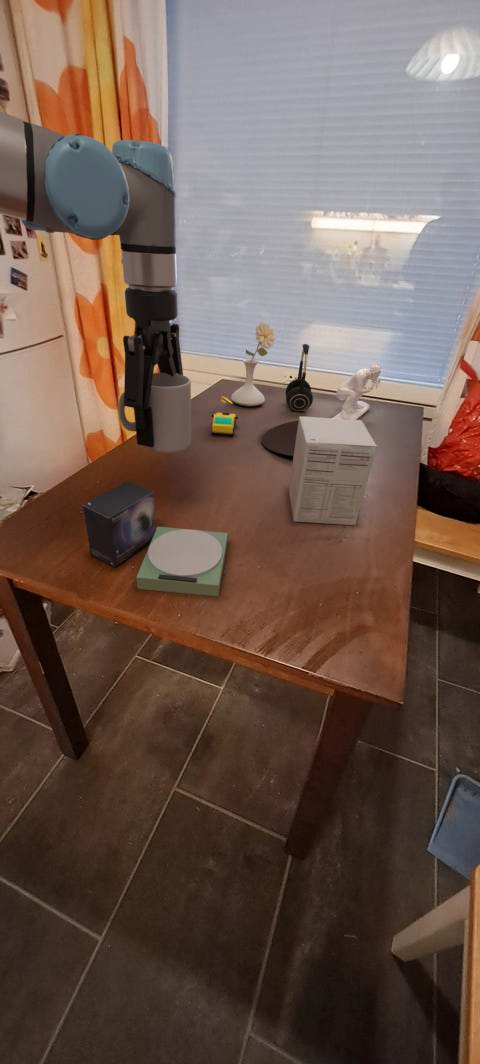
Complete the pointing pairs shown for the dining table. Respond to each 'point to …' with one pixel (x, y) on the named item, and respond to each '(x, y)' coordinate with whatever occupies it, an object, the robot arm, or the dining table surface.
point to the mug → (167, 412)
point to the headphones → (300, 388)
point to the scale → (184, 562)
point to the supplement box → (330, 470)
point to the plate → (281, 438)
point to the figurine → (356, 393)
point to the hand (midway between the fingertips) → (158, 434)
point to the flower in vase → (248, 391)
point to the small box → (120, 522)
